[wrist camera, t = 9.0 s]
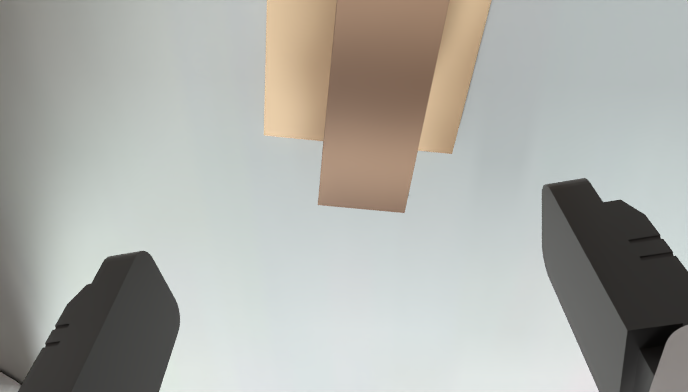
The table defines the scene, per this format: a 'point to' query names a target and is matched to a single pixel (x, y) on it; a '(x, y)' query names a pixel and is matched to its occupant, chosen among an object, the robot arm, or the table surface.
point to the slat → (378, 100)
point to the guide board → (315, 60)
